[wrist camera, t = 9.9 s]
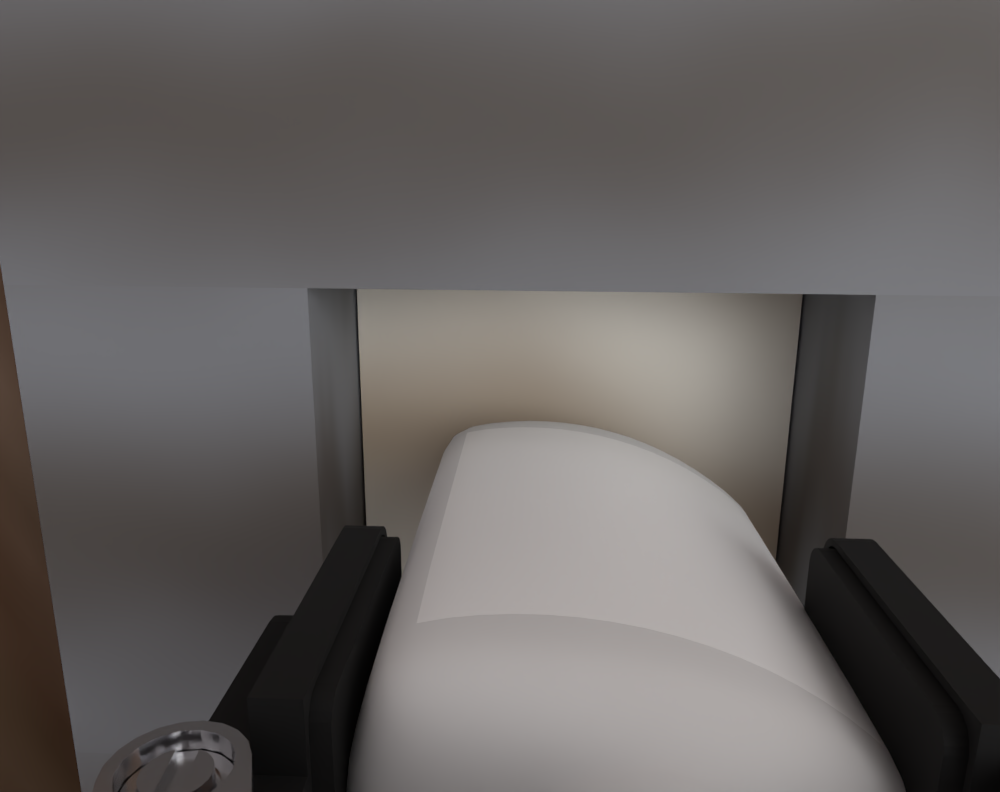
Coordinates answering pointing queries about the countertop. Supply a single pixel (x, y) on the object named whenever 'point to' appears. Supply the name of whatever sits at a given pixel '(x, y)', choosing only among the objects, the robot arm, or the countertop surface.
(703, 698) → the eye dropper bottle
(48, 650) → the countertop surface
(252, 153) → the holder block
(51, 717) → the countertop surface
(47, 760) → the countertop surface
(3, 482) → the countertop surface
